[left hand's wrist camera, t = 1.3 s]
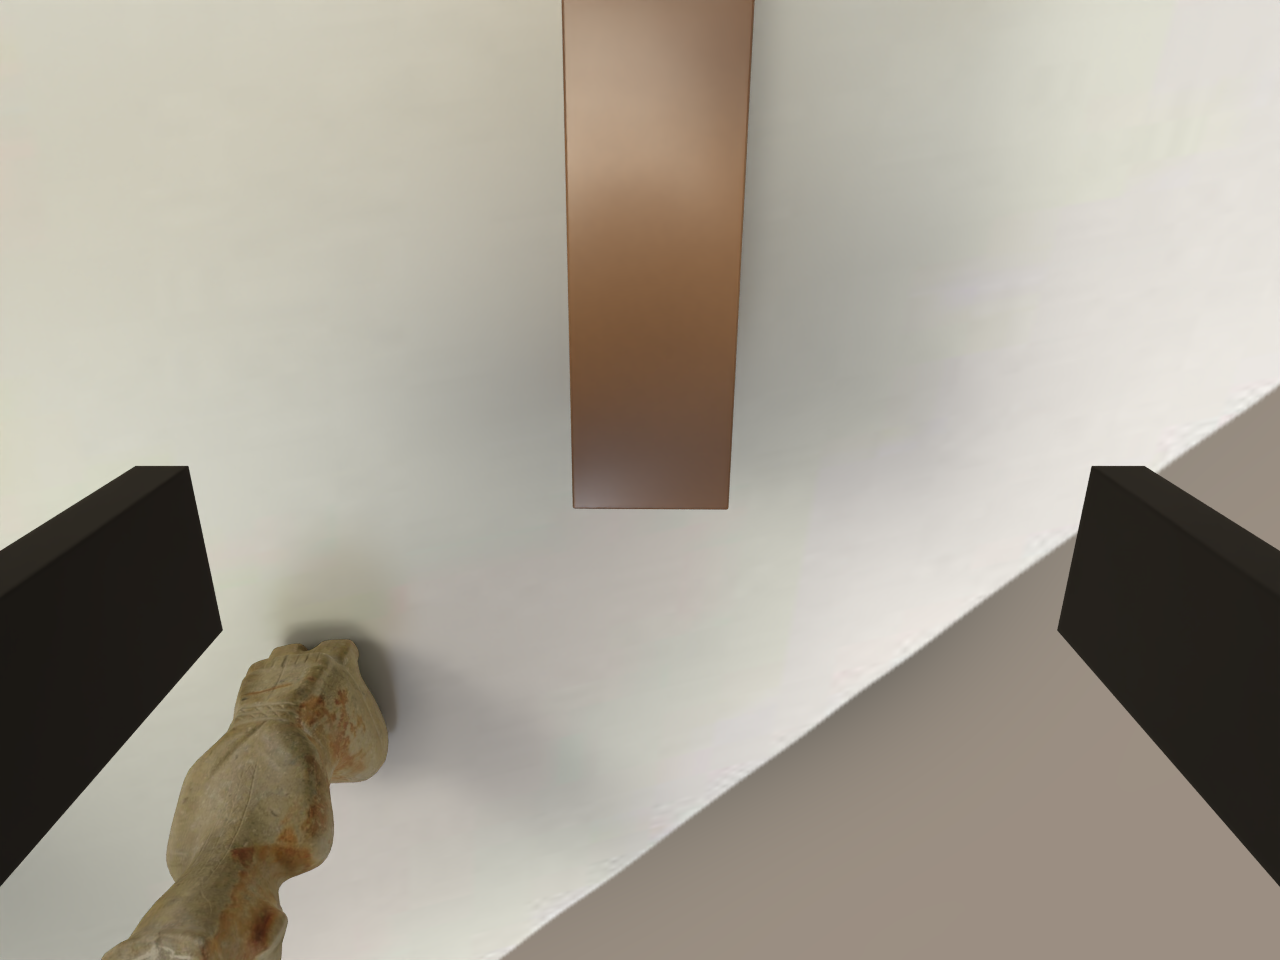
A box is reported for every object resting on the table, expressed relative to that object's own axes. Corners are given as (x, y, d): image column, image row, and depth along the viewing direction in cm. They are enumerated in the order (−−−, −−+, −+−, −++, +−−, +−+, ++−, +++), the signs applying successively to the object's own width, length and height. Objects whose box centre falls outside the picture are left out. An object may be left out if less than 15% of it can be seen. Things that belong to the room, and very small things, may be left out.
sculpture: (288, 757, 39) (97, 1090, 25) (251, 624, 37) (16, 914, 23) (411, 749, 39) (288, 1080, 25) (383, 615, 37) (228, 901, 23)
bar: (704, 419, 34) (728, 510, 25) (588, 418, 34) (572, 509, 25) (737, -432, 24) (793, -747, 16) (576, -434, 24) (544, -751, 16)
